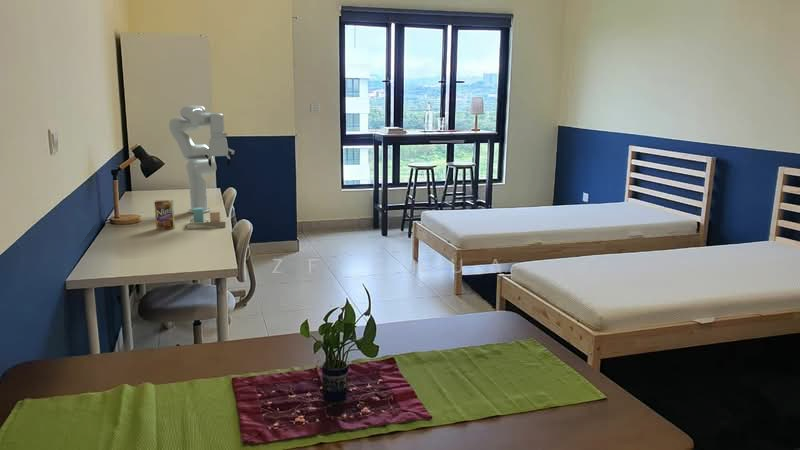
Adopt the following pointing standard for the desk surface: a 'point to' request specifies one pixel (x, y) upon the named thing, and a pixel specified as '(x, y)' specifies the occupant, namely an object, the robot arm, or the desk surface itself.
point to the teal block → (198, 215)
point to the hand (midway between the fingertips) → (219, 166)
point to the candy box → (164, 214)
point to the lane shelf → (206, 224)
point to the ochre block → (215, 216)
